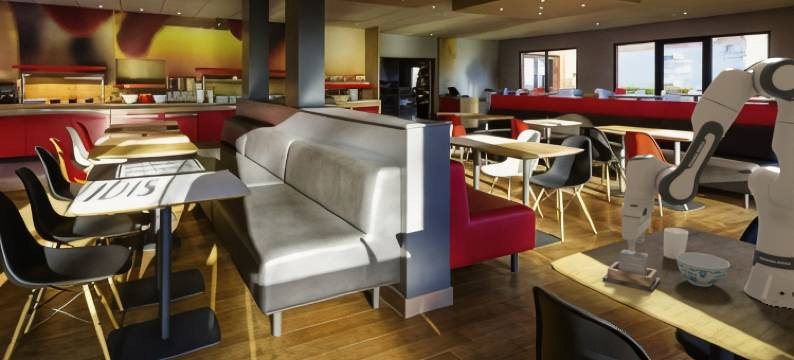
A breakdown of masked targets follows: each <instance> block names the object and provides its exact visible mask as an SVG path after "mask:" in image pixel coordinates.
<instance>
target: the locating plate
mask: <svg viewBox="0 0 794 360" xmlns="http://www.w3.org/2000/svg"><path fill="white" fill-rule="evenodd" d="M618 269H619V261H614V262H613V263H612V264H611V265H610V266H609V267H608V268H607V273H606V274H605V275H604V276H603V277H602V282H607V283H612V284H616V285H621V286H625V287H628V288H634V289H636V290H637V289H638V290H641V291H646V292H651V293H653V291H654V290H655V288H656V287H657V286H658V285H659V283H660V282H661V277H657V275H658V274H657V272H658V269H656V268H655V269H653V268H649V267H647V276H645V275H640V274H635V273H631V272H626V271H621V270H618Z"/></svg>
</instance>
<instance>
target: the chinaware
mask: <svg viewBox="0 0 794 360" xmlns="http://www.w3.org/2000/svg"><path fill="white" fill-rule="evenodd" d="M675 261H676V264H677V268H678V269H679V271H680V273H681V274H682V275H683V276H684V277H685V278H686V279H687V281H688V282H689V284H691V285H694V286H698V287H702V288H703V287H705V288H706V287H711V286H712V285H713V284H714V283H717V282H719V281H720V280H722V279H723V278H724V277H725V276H726V275H727V273H728V271H729V269H730V266H731V264H730V262H729V261H728V260H726V259H724V258H722V257H719V256H717V255H712V254H709V253H703V252H702V253H701V252H685V253H680V254H678V255H677V256H676V259H675Z"/></svg>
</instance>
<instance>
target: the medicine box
mask: <svg viewBox="0 0 794 360" xmlns="http://www.w3.org/2000/svg"><path fill="white" fill-rule="evenodd" d="M618 258H619V259H618V262H619V269H618V270H621V271H626V272H631V273H635V274H640V275H645V276H647V268H648V262H649V261H648V260H649V254H648V253H646V252H645V253H644V252H639V251H636V250H635V251H634V252H632V251H629V250H628V249H622V250H621V251H620V252H619V257H618Z"/></svg>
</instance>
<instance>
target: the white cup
mask: <svg viewBox="0 0 794 360" xmlns="http://www.w3.org/2000/svg"><path fill="white" fill-rule="evenodd" d="M663 229H664V230H663V257H664V258H667V259H672V260H676V256H677V255H678V254H680V253H686V249H687V244H688V237H689V231H688V230H687V229H683V228H680V227H679V228H678V227H665V228H663Z"/></svg>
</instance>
